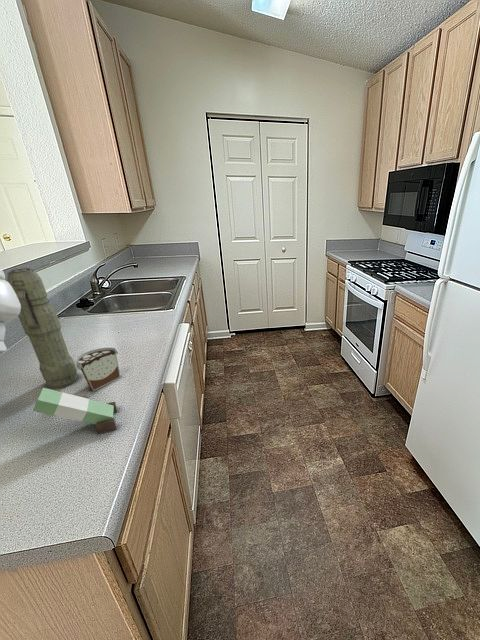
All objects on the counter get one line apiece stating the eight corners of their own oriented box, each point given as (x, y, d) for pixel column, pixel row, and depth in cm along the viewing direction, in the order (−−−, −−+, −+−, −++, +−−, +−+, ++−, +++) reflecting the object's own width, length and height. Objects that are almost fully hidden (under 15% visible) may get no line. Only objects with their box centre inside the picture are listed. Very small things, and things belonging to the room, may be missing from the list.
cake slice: (111, 371, 111) (103, 344, 107) (124, 375, 109) (116, 347, 104) (75, 389, 101) (65, 359, 97) (88, 393, 99) (78, 363, 94)
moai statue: (42, 393, 99) (-8, 276, 84) (50, 376, 109) (7, 267, 93) (76, 386, 102) (34, 272, 87) (81, 370, 112) (44, 265, 97)
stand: (98, 434, 82) (95, 425, 81) (101, 412, 90) (98, 405, 89) (116, 429, 83) (114, 421, 82) (117, 408, 92) (115, 401, 90)
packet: (32, 411, 75) (37, 399, 75) (38, 398, 80) (43, 387, 80) (108, 427, 84) (113, 417, 84) (109, 414, 89) (113, 405, 89)
